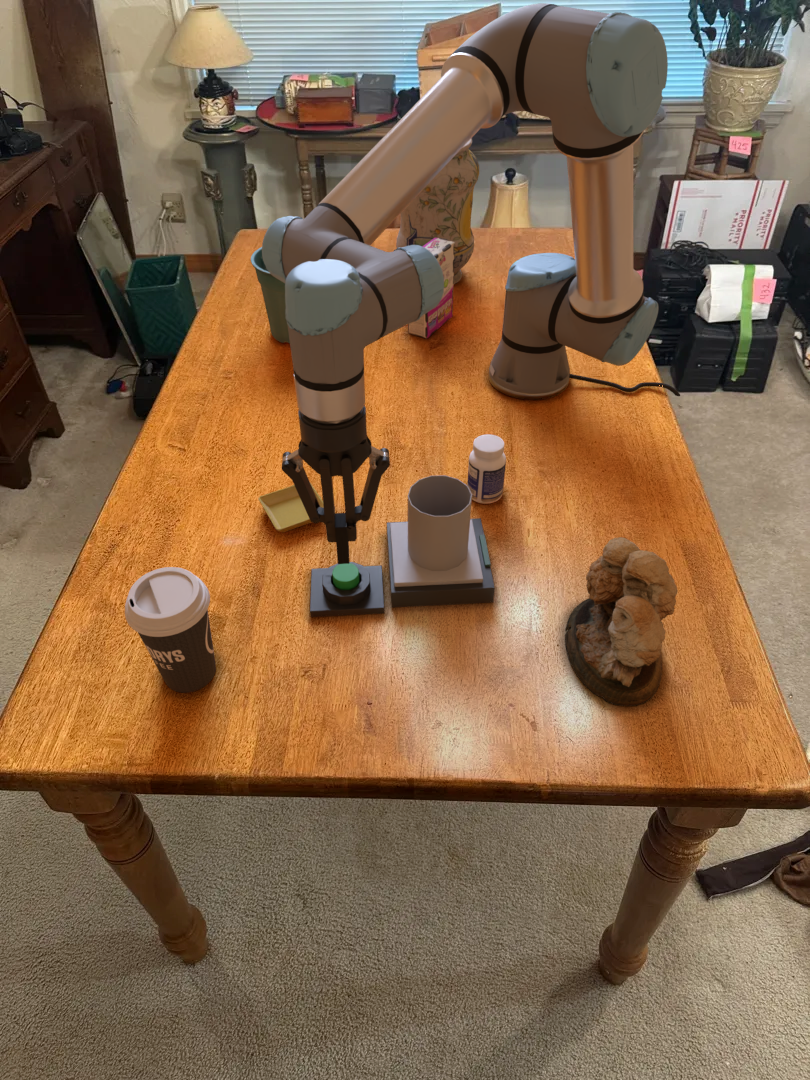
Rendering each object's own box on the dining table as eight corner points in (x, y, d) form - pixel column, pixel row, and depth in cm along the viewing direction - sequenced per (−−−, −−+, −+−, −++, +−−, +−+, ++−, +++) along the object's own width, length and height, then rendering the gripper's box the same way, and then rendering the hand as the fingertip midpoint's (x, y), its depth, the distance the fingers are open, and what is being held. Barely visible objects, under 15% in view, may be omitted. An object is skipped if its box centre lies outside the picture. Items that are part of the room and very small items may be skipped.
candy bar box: (433, 311, 165) (434, 236, 153) (453, 317, 163) (456, 241, 151) (405, 333, 158) (405, 256, 146) (426, 339, 156) (427, 262, 145)
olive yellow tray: (278, 540, 113) (276, 530, 112) (258, 506, 119) (256, 496, 117) (331, 522, 116) (330, 512, 115) (310, 489, 122) (308, 479, 120)
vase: (474, 294, 170) (484, 150, 150) (395, 294, 171) (393, 150, 150) (470, 260, 183) (478, 123, 162) (396, 259, 184) (395, 123, 163)
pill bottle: (506, 486, 122) (512, 435, 115) (497, 508, 118) (503, 457, 111) (471, 478, 124) (475, 428, 117) (462, 500, 120) (465, 450, 113)
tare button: (359, 570, 105) (358, 562, 104) (359, 590, 103) (359, 581, 101) (333, 572, 105) (332, 563, 104) (333, 591, 103) (332, 582, 101)
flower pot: (348, 316, 163) (344, 242, 152) (330, 355, 152) (323, 278, 140) (275, 310, 165) (265, 236, 154) (251, 348, 154) (238, 271, 142)
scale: (479, 532, 114) (481, 513, 112) (493, 602, 104) (495, 583, 102) (386, 536, 114) (386, 518, 111) (391, 607, 104) (391, 588, 101)
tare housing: (382, 570, 109) (381, 556, 107) (384, 613, 103) (384, 598, 101) (312, 574, 108) (310, 559, 106) (310, 617, 103) (308, 602, 100)
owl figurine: (549, 601, 104) (567, 508, 93) (632, 594, 105) (660, 501, 94) (585, 712, 92) (611, 621, 80) (679, 703, 92) (719, 612, 81)
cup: (462, 575, 103) (466, 520, 96) (403, 566, 104) (402, 512, 97) (471, 533, 109) (475, 479, 102) (414, 525, 110) (415, 471, 103)
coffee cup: (157, 644, 99) (128, 564, 89) (231, 639, 100) (210, 559, 89) (145, 706, 92) (112, 627, 82) (224, 700, 93) (202, 621, 83)
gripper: (388, 385, 87) (391, 535, 103) (274, 389, 87) (295, 539, 103) (392, 423, 82) (394, 574, 98) (270, 427, 81) (292, 579, 97)
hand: (343, 556), depth 100 cm, fingers closed
